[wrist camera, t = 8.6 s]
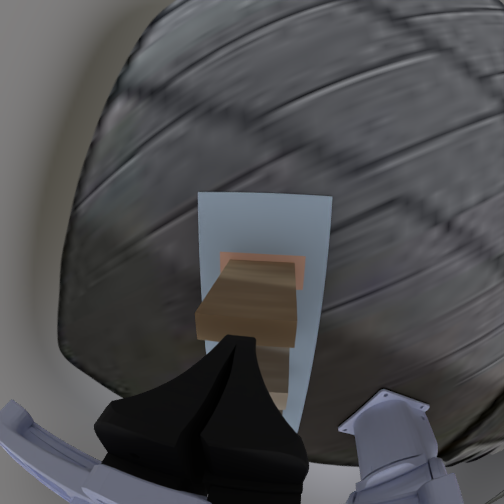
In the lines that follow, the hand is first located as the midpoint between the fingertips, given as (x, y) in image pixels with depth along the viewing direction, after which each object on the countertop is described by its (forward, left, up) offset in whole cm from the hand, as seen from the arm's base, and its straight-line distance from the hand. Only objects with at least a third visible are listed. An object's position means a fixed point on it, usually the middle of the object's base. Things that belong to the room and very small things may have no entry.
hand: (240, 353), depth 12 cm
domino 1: (0, 0, -10) cm, 10 cm away
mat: (-4, +9, -10) cm, 14 cm away
